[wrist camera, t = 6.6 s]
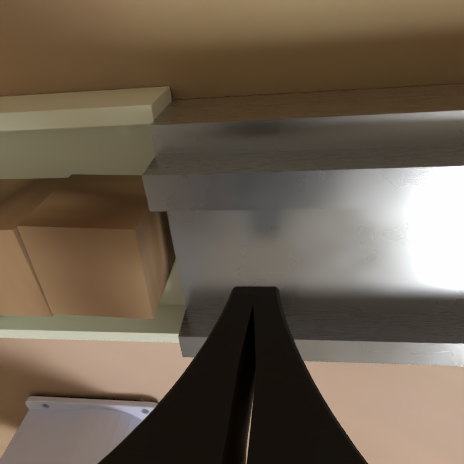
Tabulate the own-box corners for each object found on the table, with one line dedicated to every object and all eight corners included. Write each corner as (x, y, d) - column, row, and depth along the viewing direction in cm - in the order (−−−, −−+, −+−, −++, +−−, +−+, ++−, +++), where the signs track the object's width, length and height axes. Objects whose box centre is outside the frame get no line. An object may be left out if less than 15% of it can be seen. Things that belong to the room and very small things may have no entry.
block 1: (93, 254, 18) (16, 254, 19) (68, 177, 16) (-20, 179, 16) (52, 316, 15) (-41, 314, 15) (12, 230, 13) (-95, 230, 13)
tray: (12, 302, 21) (-17, 337, 19) (-95, 102, 15) (-152, 121, 13) (205, 305, 20) (196, 343, 18) (169, 86, 14) (150, 104, 12)
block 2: (93, 252, 18) (51, 313, 15) (71, 174, 16) (16, 225, 13) (177, 255, 18) (153, 319, 14) (166, 175, 15) (134, 229, 12)
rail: (203, 298, 20) (186, 372, 16) (171, 100, 14) (134, 142, 11) (497, 301, 18) (554, 386, 14) (587, 76, 12) (719, 117, 9)
